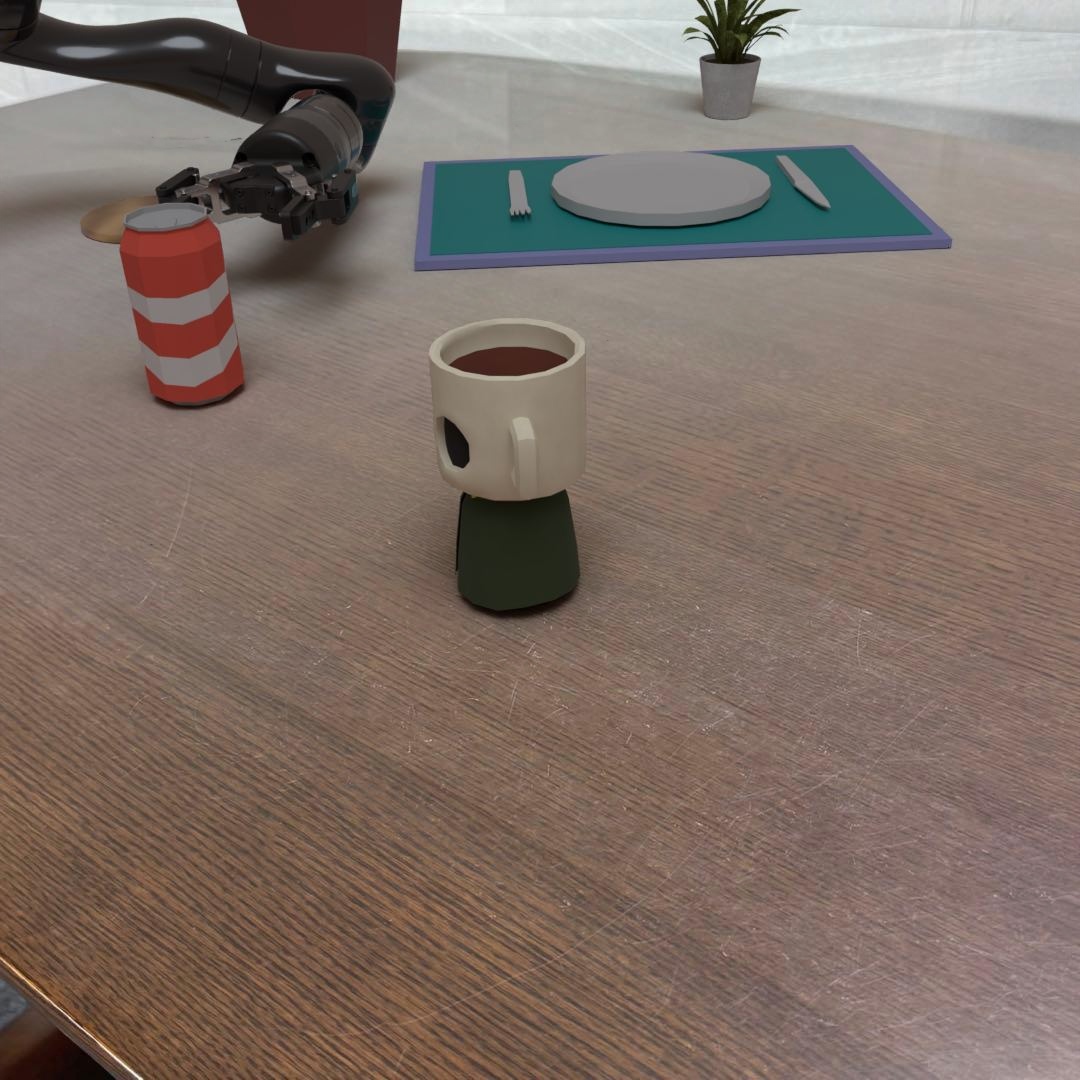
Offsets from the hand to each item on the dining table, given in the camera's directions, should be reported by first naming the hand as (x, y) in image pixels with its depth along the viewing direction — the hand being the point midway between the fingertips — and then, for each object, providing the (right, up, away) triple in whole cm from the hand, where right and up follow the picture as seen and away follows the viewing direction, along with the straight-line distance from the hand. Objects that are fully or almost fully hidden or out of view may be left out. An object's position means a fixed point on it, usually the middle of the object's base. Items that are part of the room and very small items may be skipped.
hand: (227, 227), depth 85 cm
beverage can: (-1, -12, -3) cm, 13 cm away
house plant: (+43, +27, +56) cm, 76 cm away
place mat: (+33, +9, +29) cm, 45 cm away
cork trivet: (-15, +8, +28) cm, 32 cm away
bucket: (-6, +38, +75) cm, 84 cm away
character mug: (+21, -24, -24) cm, 40 cm away
